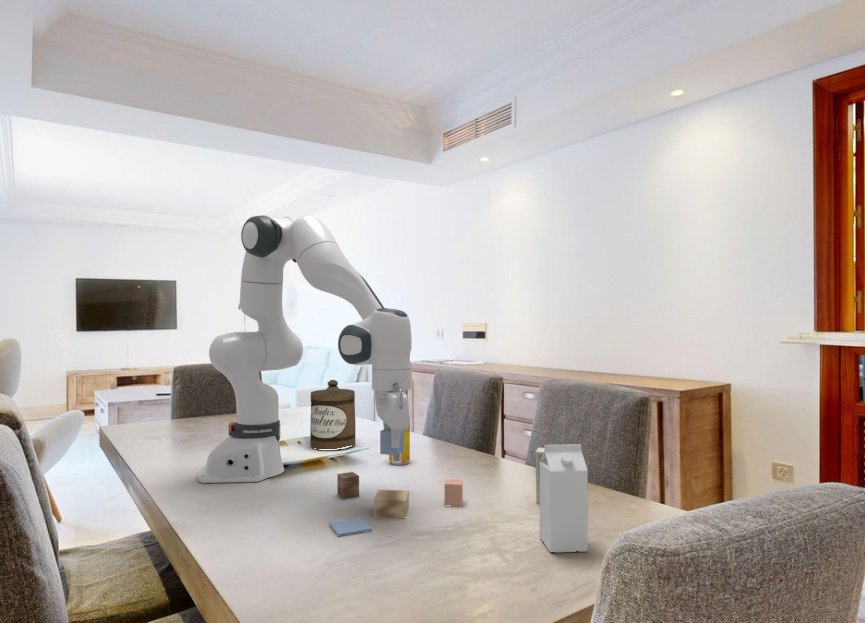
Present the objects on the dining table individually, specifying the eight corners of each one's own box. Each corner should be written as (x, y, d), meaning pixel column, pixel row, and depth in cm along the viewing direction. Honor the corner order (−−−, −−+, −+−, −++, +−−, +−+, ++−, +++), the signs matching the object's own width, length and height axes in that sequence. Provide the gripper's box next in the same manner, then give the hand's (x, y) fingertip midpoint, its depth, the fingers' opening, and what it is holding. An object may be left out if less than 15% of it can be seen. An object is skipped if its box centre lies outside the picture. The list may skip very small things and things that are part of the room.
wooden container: (301, 449, 182) (302, 381, 182) (323, 439, 196) (323, 377, 196) (343, 452, 178) (343, 383, 178) (362, 442, 192) (362, 378, 192)
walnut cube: (343, 499, 133) (343, 478, 133) (337, 494, 136) (337, 474, 136) (359, 496, 135) (359, 475, 135) (352, 492, 138) (352, 471, 138)
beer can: (411, 460, 168) (411, 410, 168) (408, 465, 162) (408, 414, 162) (391, 460, 168) (391, 410, 169) (387, 465, 162) (387, 413, 163)
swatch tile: (337, 536, 110) (337, 534, 110) (328, 524, 116) (328, 522, 116) (371, 531, 113) (371, 528, 113) (361, 519, 119) (361, 517, 119)
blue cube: (380, 453, 123) (380, 431, 123) (387, 449, 127) (387, 427, 127) (397, 455, 121) (397, 432, 121) (404, 451, 125) (404, 428, 125)
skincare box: (564, 500, 132) (564, 448, 132) (562, 506, 128) (562, 453, 128) (537, 497, 134) (537, 446, 134) (535, 503, 130) (535, 450, 130)
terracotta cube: (444, 506, 128) (444, 484, 128) (445, 500, 132) (445, 479, 132) (461, 506, 128) (462, 484, 128) (462, 500, 132) (462, 479, 132)
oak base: (373, 518, 121) (373, 500, 121) (378, 507, 128) (378, 489, 128) (406, 519, 120) (405, 500, 120) (408, 507, 127) (408, 490, 127)
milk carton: (539, 538, 109) (539, 440, 109) (574, 537, 110) (574, 440, 110) (550, 553, 102) (550, 449, 102) (587, 552, 103) (587, 448, 103)
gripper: (416, 386, 115) (416, 454, 115) (396, 376, 135) (396, 434, 135) (386, 387, 113) (386, 456, 113) (370, 377, 133) (370, 435, 133)
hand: (391, 443), depth 124 cm, fingers closed on blue cube, 6 cm apart
